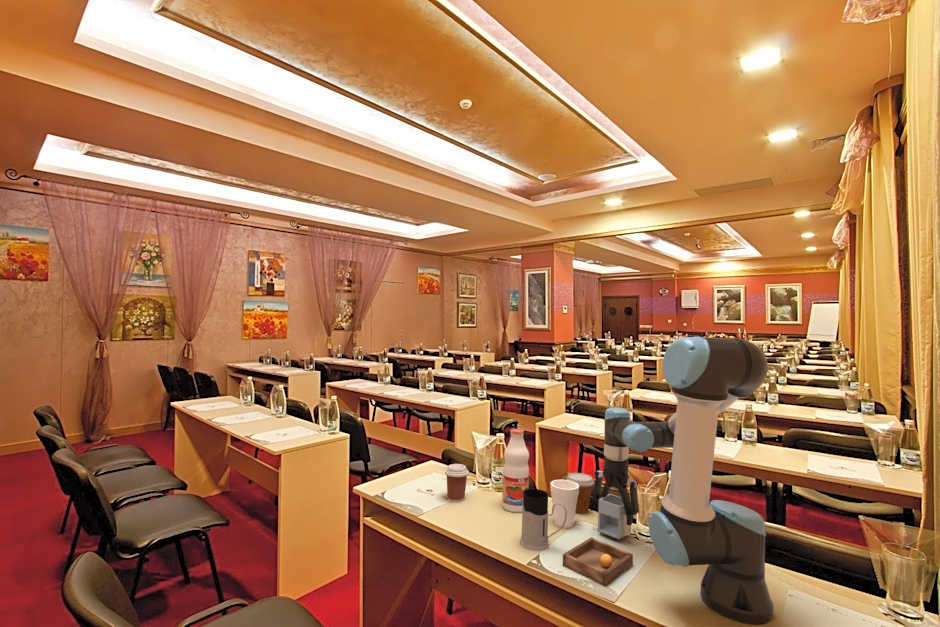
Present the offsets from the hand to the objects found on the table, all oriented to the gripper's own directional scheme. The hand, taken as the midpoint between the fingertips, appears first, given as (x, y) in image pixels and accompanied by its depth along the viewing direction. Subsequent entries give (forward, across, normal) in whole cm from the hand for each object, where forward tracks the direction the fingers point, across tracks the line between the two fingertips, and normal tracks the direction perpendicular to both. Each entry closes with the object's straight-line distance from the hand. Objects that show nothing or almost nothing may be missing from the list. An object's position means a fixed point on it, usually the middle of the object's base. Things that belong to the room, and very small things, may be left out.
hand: (614, 529), depth 140 cm
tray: (+2, -6, +20) cm, 21 cm away
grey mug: (+2, +11, +23) cm, 25 cm away
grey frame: (+1, 0, 0) cm, 1 cm away
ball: (-1, -8, +19) cm, 21 cm away
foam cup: (+2, +16, +5) cm, 17 cm away
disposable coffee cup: (+2, +18, -9) cm, 20 cm away
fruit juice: (+2, +35, +8) cm, 35 cm away
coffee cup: (+2, +54, +18) cm, 58 cm away
